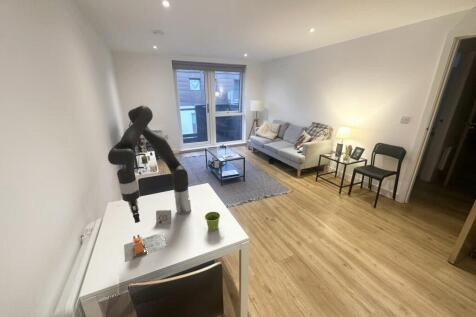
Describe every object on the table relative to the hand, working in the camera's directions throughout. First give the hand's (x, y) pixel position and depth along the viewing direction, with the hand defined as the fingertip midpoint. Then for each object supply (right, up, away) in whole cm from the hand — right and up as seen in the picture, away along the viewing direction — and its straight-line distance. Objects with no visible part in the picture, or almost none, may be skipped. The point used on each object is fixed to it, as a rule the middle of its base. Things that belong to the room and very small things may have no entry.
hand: (136, 217), depth 100 cm
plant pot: (+36, -13, +23) cm, 44 cm away
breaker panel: (+1, -19, +7) cm, 20 cm away
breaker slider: (-3, -17, +8) cm, 19 cm away
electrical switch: (+4, -12, +27) cm, 30 cm away
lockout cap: (0, -19, +3) cm, 19 cm away
